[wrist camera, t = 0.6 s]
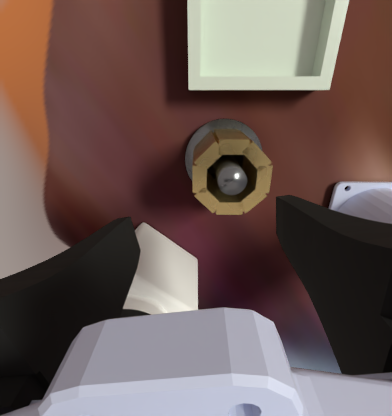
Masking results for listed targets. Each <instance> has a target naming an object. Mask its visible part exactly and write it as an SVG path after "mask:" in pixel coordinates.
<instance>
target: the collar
mask: <svg viewBox="0 0 392 416" xmlns="http://www.w3.org/2000/svg"><path fill="white" fill-rule="evenodd" d="M222 155H243V164H242V170H243V171H244V173H245V175H246V177H247V184H246V187H245V188H244V190H243V191H242V192H240V193H238V194H236V195H227V194H225V193H223V192H222V191H221V190H220V188H219V186H218V181H217V179H215V178H214V177H213V176H212V175H211V174H210V173H209V172H208V171H207V169H208V168H209V167H210V166H211V165H212V164H213V163H214V162H215V161H216V160H217V159H218V158H220V157H221V156H222ZM270 163H271V161H270V160H269V159H268V157H267V156H266V155H265V154H264V153H263V152H262V151H261V149H260V148H259V147H258V146H257V145H256V144H255V143H254V141H252V140H251V139H250V138H249V137H248V136H246V135H245V134H244V133H243V132H241V131H240V130H238V129H214V133H213V132H212V131H211V130H210V131H209V132H208V133H207V134H206V135H205V136H204V137H203V138H202V139H201V140H200V142H199V143H198V144H197V145H196V146H195V149H193V165H192V173H193V193H194V196H195V197H196V198H197V199H198V200H199V201H200V202H201V203H202V204H203V205H204V206H205V207H207V208H208V209H209V210H210V211H211V212H212V213H214V212H215V211H216V214H231V215H242V213H243V211H244V212H245V213H247V212H248V211H249V210H251V209H252V208H253V207H254V206H255V205H257V204H258V203H259V202H260V201H262V200H263V199H264V198H265V197H266V196H267V195H266V194H265V193H269V189H270V182H271V175H272V168H273V166H272V165H271V164H270Z"/></svg>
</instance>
